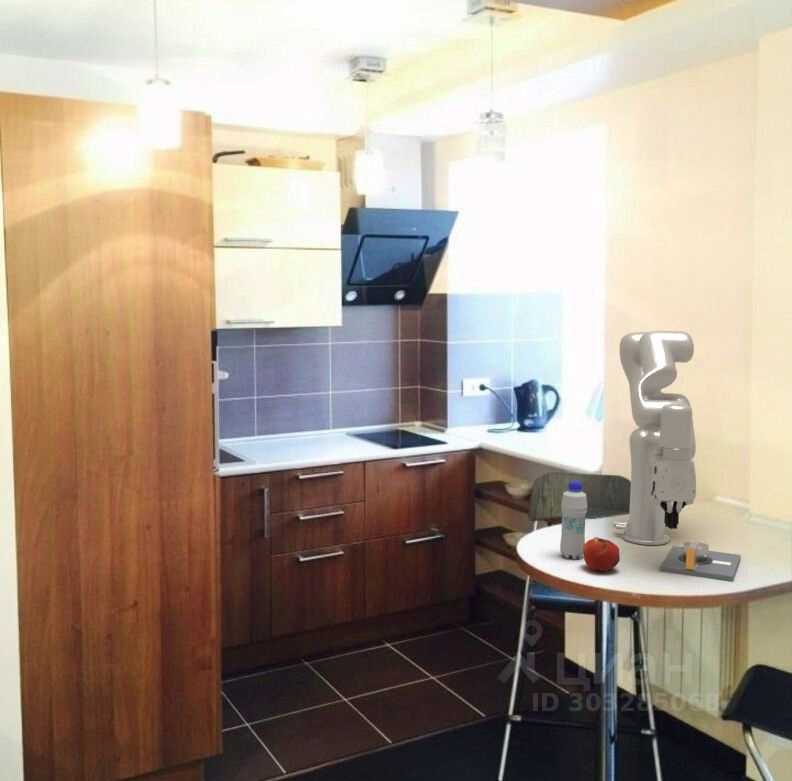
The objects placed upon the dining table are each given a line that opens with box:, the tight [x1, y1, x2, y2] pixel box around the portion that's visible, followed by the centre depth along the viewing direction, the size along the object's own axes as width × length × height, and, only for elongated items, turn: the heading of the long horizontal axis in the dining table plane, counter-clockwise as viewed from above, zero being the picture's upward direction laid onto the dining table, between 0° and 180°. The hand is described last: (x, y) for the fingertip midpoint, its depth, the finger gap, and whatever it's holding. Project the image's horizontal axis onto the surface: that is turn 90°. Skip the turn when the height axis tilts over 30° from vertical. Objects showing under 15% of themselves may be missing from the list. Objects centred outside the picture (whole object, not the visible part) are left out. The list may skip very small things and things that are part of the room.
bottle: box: [559, 480, 588, 560], centre depth 237 cm, size 7×7×20 cm
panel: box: [659, 545, 742, 582], centre depth 233 cm, size 17×20×2 cm
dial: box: [683, 541, 710, 570], centre depth 230 cm, size 13×6×5 cm, turn 154°
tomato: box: [583, 536, 621, 572], centre depth 228 cm, size 9×9×8 cm
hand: (671, 527), depth 227 cm, fingers closed
